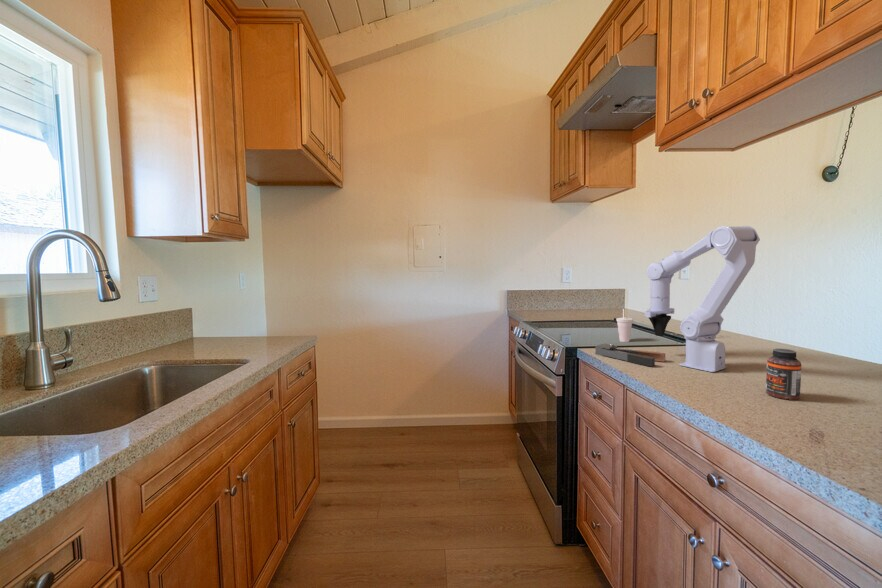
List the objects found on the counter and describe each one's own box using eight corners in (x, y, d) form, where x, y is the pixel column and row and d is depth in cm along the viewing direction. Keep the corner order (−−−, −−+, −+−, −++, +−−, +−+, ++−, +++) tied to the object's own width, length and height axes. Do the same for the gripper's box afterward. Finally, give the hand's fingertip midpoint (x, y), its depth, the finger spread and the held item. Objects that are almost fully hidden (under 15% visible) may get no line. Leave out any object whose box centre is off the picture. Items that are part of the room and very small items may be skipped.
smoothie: (612, 340, 150) (612, 308, 149) (622, 338, 153) (622, 307, 152) (626, 343, 144) (626, 309, 143) (636, 341, 147) (636, 308, 146)
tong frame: (659, 365, 112) (659, 352, 112) (651, 367, 110) (651, 354, 110) (602, 352, 131) (602, 341, 131) (594, 354, 129) (594, 343, 128)
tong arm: (665, 360, 117) (665, 352, 117) (664, 362, 115) (664, 354, 115) (609, 353, 128) (609, 346, 128) (607, 355, 126) (607, 348, 126)
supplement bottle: (759, 394, 86) (761, 349, 85) (774, 390, 88) (775, 346, 87) (791, 402, 80) (793, 354, 79) (805, 398, 82) (807, 351, 81)
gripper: (660, 295, 128) (659, 331, 129) (636, 298, 122) (635, 336, 123) (680, 296, 122) (680, 334, 123) (656, 299, 115) (656, 339, 116)
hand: (659, 335), depth 123 cm, fingers closed
